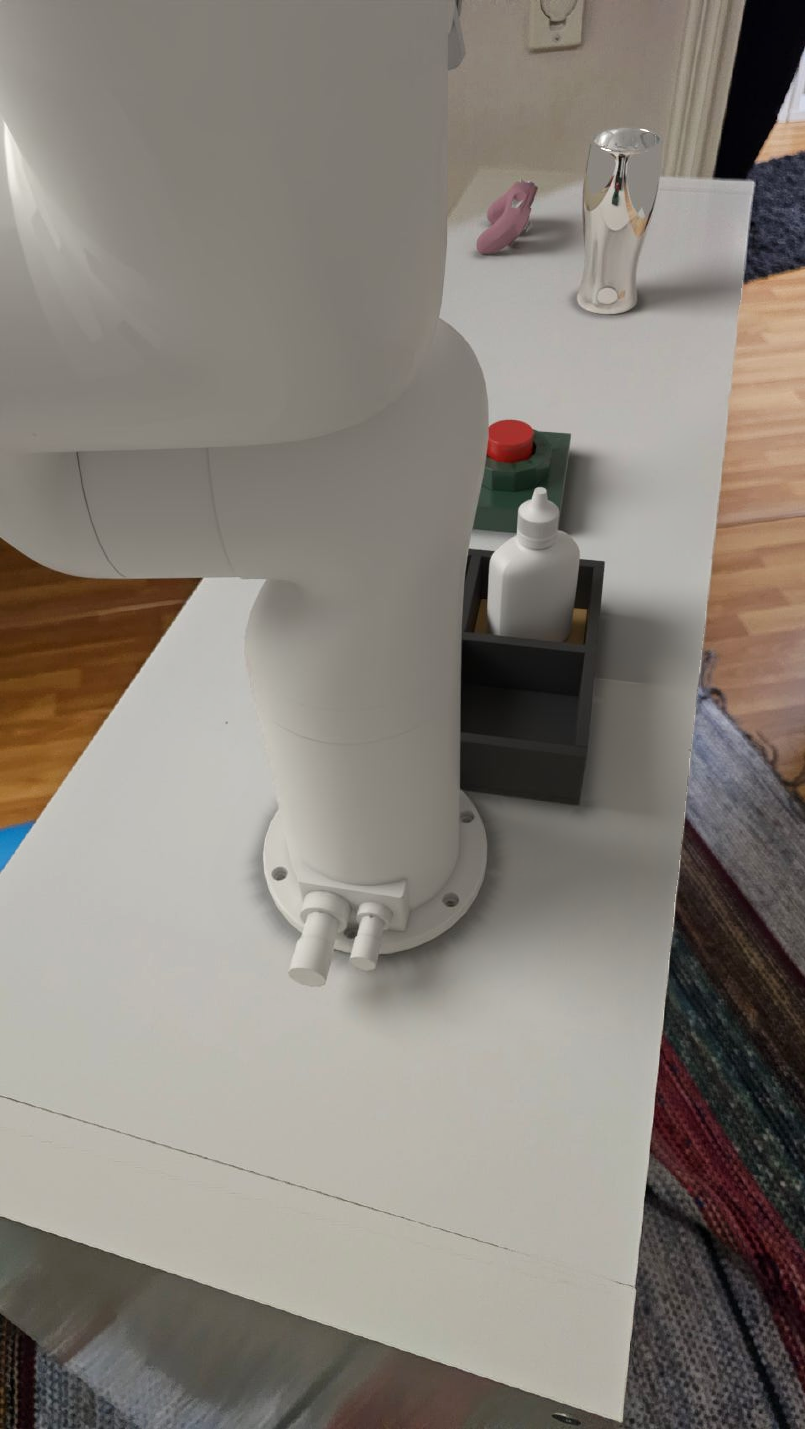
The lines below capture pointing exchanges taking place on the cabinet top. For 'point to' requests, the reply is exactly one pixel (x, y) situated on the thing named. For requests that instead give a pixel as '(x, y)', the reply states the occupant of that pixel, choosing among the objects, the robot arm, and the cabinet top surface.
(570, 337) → the cabinet top surface
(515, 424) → the button
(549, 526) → the eye dropper bottle
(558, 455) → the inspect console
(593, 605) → the tray
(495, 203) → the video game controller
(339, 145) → the robot arm
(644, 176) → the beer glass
